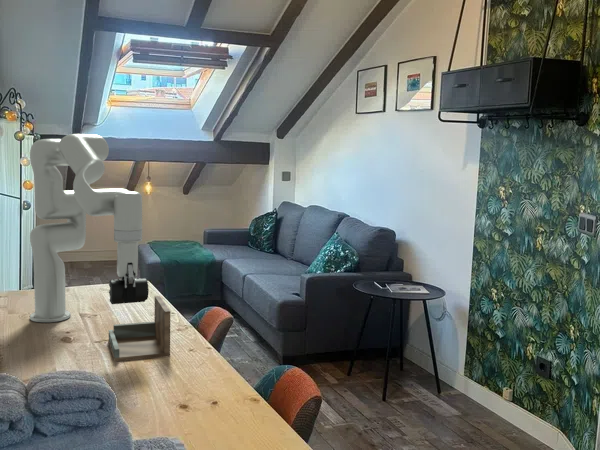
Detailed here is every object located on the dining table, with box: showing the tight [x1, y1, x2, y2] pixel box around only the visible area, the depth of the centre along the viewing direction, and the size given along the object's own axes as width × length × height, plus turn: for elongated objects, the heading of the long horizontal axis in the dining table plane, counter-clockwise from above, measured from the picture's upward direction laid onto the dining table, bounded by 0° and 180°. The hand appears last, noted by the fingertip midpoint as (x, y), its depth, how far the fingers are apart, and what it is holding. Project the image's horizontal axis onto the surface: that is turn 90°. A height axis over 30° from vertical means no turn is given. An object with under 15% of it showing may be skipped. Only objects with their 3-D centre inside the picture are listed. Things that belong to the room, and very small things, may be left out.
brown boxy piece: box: [108, 295, 171, 362], centre depth 177 cm, size 18×15×13 cm
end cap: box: [108, 277, 150, 305], centre depth 172 cm, size 10×7×7 cm
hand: (128, 297), depth 173 cm, fingers closed on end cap, 7 cm apart
